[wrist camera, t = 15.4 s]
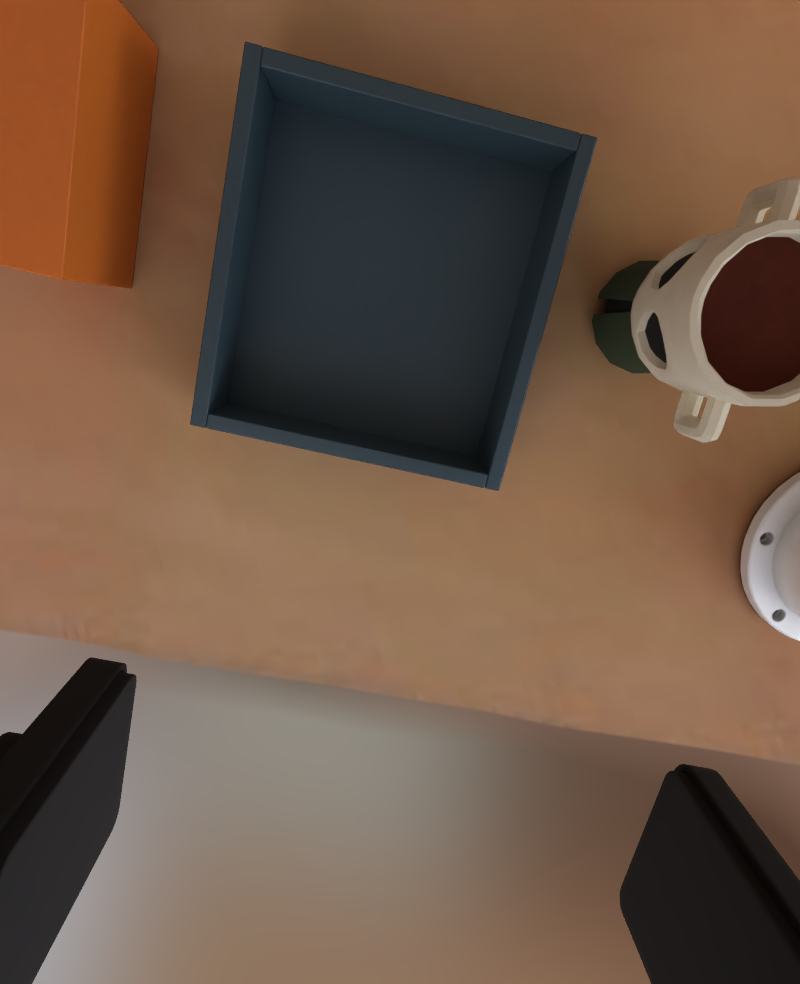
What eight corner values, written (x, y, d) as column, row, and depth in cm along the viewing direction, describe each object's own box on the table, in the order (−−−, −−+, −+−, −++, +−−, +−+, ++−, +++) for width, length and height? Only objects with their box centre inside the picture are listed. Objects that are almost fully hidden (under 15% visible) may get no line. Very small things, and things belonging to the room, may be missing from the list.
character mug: (611, 204, 35) (743, 138, 22) (731, 233, 35) (925, 184, 23) (558, 397, 37) (648, 436, 25) (670, 421, 38) (814, 470, 25)
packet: (159, 49, 32) (88, -38, 24) (132, 288, 35) (62, 279, 27) (69, 25, 32) (-31, -71, 24) (49, 269, 35) (-45, 254, 27)
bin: (567, 163, 34) (598, 137, 29) (484, 470, 38) (499, 491, 34) (264, 82, 33) (244, 41, 28) (214, 411, 37) (189, 424, 32)
